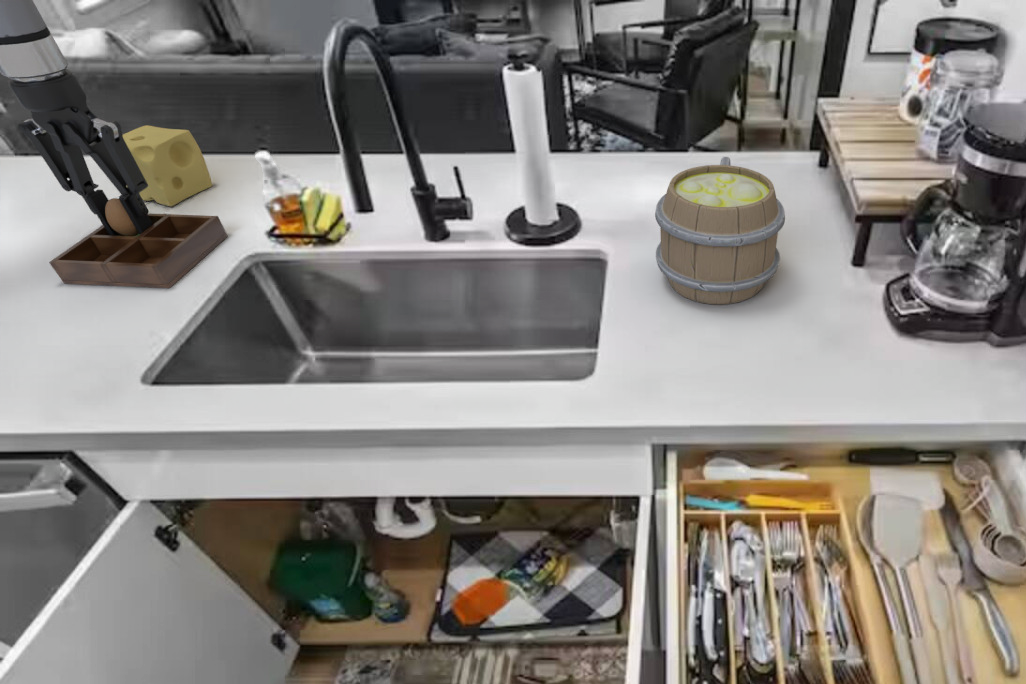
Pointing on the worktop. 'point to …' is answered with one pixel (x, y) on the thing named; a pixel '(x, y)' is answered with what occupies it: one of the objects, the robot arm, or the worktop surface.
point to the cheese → (168, 163)
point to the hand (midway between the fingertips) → (133, 233)
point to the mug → (719, 233)
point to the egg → (119, 218)
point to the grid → (141, 253)
